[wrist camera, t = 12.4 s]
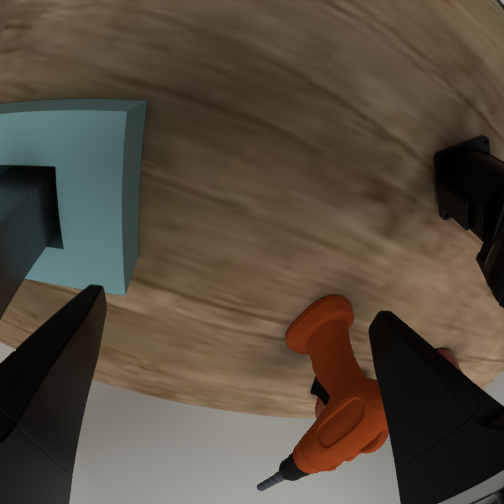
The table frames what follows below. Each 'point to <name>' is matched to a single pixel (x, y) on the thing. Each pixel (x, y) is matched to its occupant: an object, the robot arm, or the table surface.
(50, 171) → the grey t-shaped bar
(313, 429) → the toy drill
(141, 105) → the block
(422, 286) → the table surface
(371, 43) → the table surface
